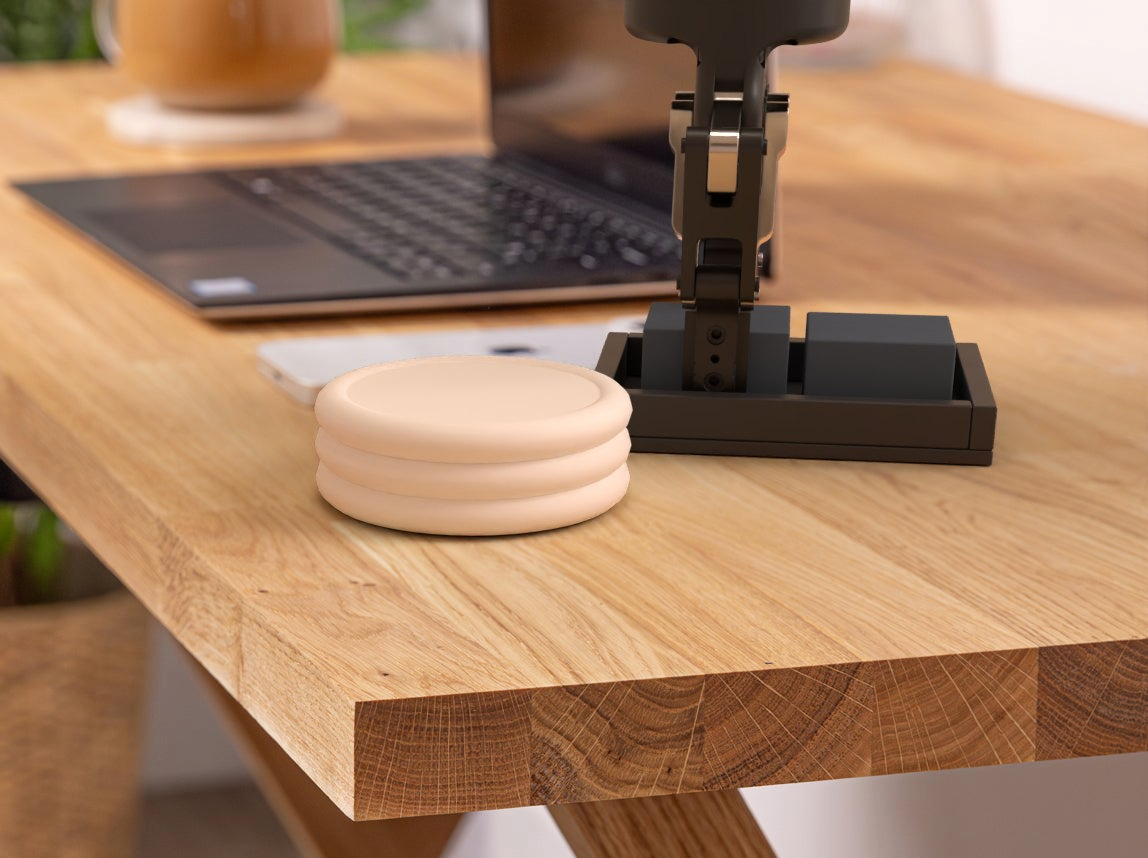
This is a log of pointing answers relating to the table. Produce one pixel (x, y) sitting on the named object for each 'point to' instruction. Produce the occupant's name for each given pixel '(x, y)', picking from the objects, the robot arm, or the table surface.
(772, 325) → the dark grey block
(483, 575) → the table surface
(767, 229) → the robot arm
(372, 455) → the coaster
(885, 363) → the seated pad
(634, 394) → the tray
